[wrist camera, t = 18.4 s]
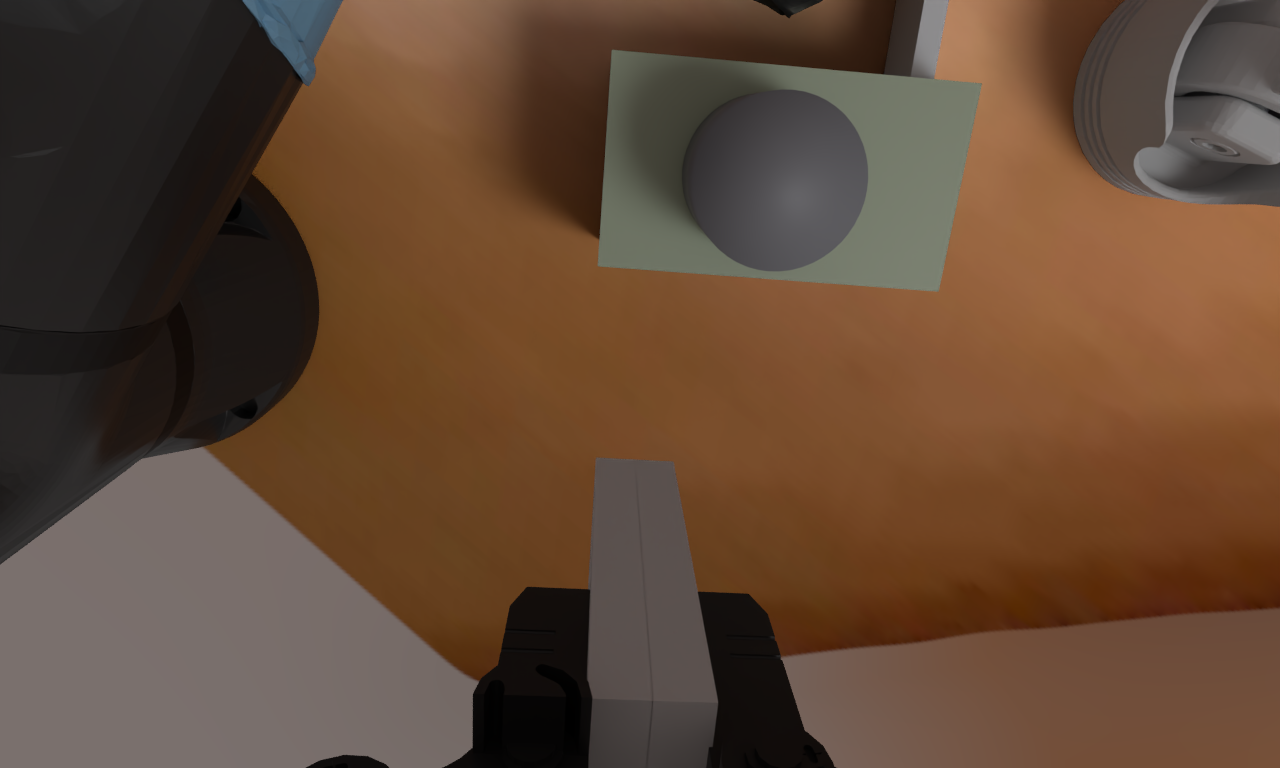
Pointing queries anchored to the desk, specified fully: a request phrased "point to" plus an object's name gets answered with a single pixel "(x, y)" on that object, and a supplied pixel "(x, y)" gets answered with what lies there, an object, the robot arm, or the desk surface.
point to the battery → (788, 5)
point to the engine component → (1185, 100)
